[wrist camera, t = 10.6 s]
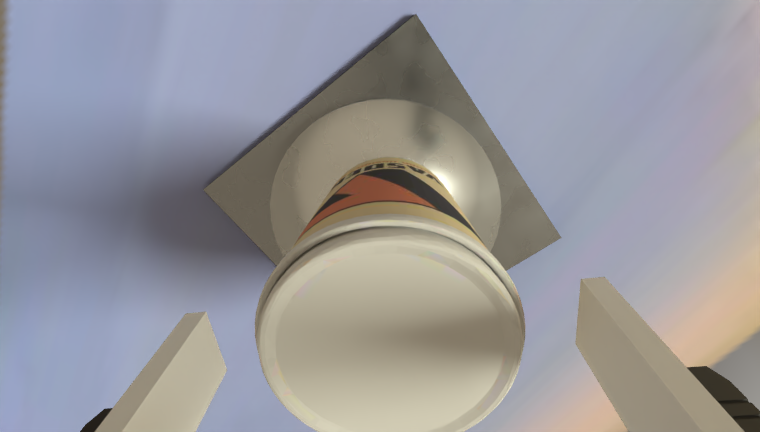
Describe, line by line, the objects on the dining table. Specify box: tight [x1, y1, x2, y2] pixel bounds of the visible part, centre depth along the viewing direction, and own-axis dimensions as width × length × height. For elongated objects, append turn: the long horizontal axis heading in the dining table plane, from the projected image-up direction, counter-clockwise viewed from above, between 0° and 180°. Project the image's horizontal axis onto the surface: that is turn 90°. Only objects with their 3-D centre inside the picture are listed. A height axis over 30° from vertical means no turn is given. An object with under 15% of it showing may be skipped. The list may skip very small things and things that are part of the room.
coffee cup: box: [255, 157, 525, 432], centre depth 19 cm, size 9×9×12 cm
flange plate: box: [204, 14, 561, 271], centre depth 25 cm, size 16×16×1 cm
